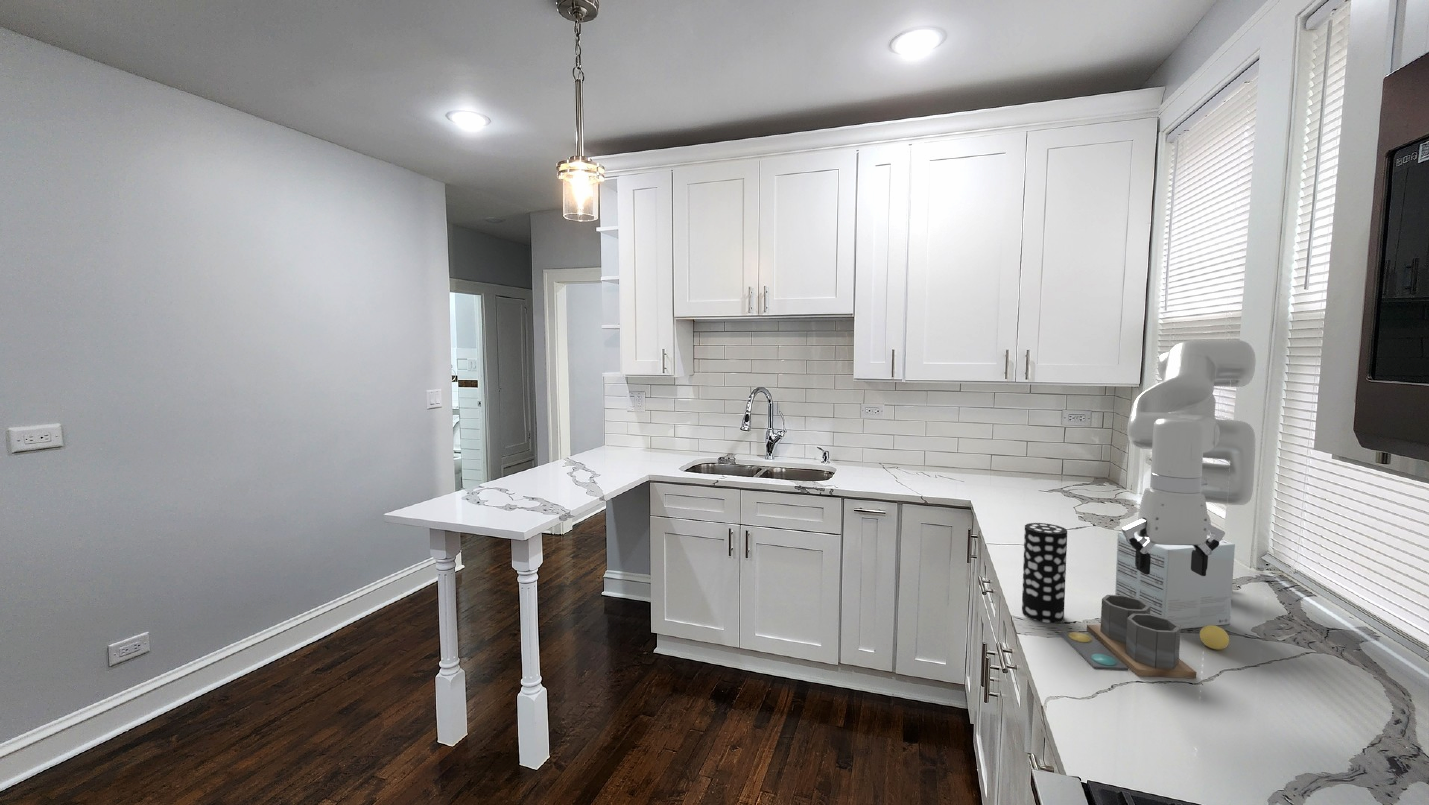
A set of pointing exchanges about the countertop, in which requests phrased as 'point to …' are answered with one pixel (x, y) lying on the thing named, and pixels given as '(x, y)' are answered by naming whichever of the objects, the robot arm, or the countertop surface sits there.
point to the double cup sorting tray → (1140, 638)
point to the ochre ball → (1214, 637)
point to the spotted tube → (1044, 572)
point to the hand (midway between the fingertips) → (1170, 572)
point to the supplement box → (1179, 583)
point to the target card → (1093, 651)
